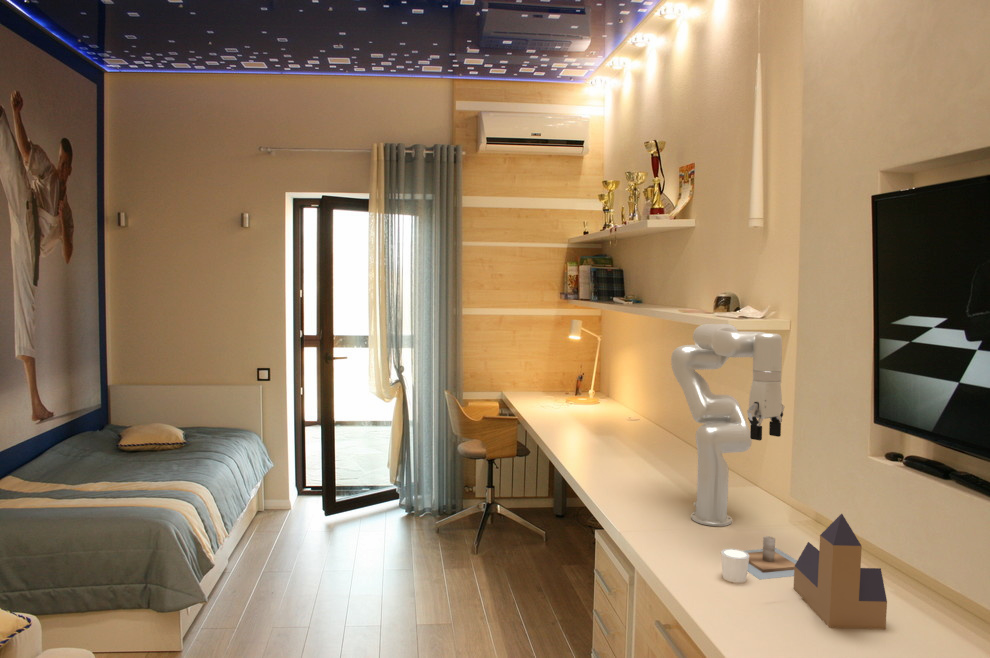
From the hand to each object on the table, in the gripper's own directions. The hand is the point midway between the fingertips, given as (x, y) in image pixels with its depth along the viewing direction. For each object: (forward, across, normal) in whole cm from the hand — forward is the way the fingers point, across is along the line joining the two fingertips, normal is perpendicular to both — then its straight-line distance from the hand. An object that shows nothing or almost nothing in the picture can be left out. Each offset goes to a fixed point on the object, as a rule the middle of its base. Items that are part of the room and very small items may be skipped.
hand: (765, 437), depth 193 cm
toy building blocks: (+35, +16, +28) cm, 48 cm away
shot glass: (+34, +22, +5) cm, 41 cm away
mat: (+33, +5, +5) cm, 34 cm away
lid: (+33, +5, +5) cm, 34 cm away
